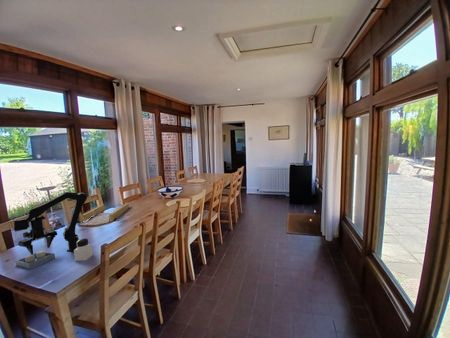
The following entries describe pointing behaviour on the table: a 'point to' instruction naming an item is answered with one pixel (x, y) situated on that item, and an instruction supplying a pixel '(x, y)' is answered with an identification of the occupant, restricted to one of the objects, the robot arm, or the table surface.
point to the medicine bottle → (83, 250)
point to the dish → (37, 262)
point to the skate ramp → (100, 208)
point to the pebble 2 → (40, 255)
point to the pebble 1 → (30, 259)
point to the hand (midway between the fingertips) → (40, 251)
